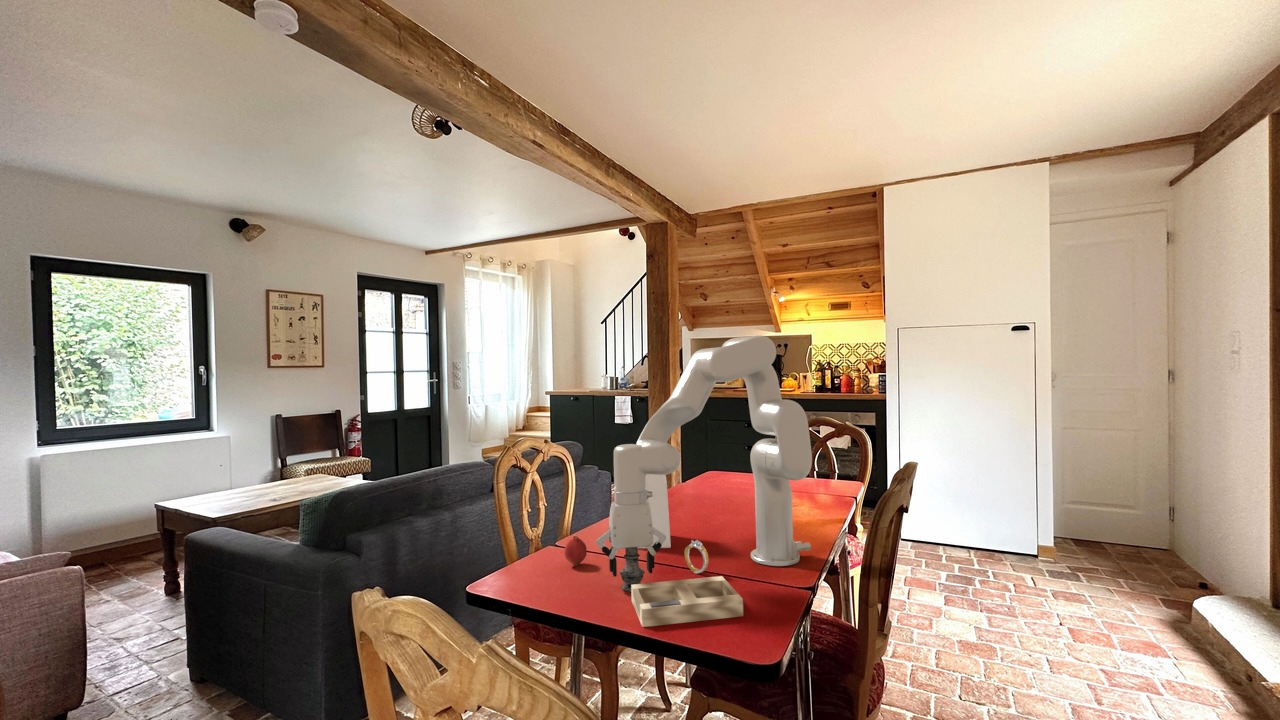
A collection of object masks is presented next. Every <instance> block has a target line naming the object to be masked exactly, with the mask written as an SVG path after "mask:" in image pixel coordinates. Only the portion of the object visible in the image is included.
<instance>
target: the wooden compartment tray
mask: <svg viewBox="0 0 1280 720" xmlns="http://www.w3.org/2000/svg"><path fill="white" fill-rule="evenodd" d="M630 596H631V603H632V605H633V608H634V610H635V612H636V615H637V618H638V620H639V622H640V625H641V627H642V628H645V627H657V626H665V625H674V624H683V623H685V624H686V623H693V622H704V621H710V620H711V621H713V620H720V619H730V618H739V617H744V598H743V597H742V596H741V595H740V594H739V593H738V591H736V590H735V589H734V588H733V586H732V585H731V584H730V583H729V582H728V581H727V580H726V579H725V578H724V576H722V575H720V576H709V577H699V578H688V579H687V578H685V579H678V580H665V581H657V582H656V581H655V582H645V583H641V584H633V585H631V594H630Z"/></svg>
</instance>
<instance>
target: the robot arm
mask: <svg viewBox="0 0 1280 720" xmlns="http://www.w3.org/2000/svg"><path fill="white" fill-rule="evenodd" d="M776 358H777V348H776V345H775V343H774V341H773V340H772V339H771V338H769V337H767V336H765V335H751V336H739V337H734V338H730V339H728V340H726V341H724V342H723V344H722V345H721V346H719V347H718V346H717V347H710V348H709V347H708V348H701V349H698V350H696V351H694V353H693V354H692V355H691V356H690V358H689V361H688V362H687V364H686V366H685V367H684V369H683V372H682V373H681V375H680V377H679V379H678V381H677V383H676V385H675V386H674V389H673V391H672V393H671V394H670V397H669V398H668V399H667V400H666V401H665V402H664V403H663V404H662V405H661V406H660V407H659V408H658V409H657V411H656V412H655V413H654V414H653V415H652V416H651V417H650V419H649V420H648V421H647V423H646V424H645V426H644V428H643V430H642V431H641V433H640V435H639V437H638V439H637V441H636V443H635V444H634V443H626V444H625V443H624V444H620V445H617V446H616V447H614V449H613V484H614V486H613V488H614V489H613V491H614V494H613V495H614V498H613V499H614V502H611V504H610V510H609V517H608V518H609V519H608V530H606V531H605V532H604V533H603V534H602V535H601V536H599V537H598V538H597V539H595V543H596V545H597V547H599V549H600V550H601V552H602V553H603V554H604V555H605V556H606V557H608V561H609V562H608V565H609V567H608V568H609V573H611V574H612V576H613V577H617V576H618V572H617V571H618V569H617V567H618V566H617V558H616V555H617V552H618V551H619V549H626V548H635V547H646V548H645V549H647V552H646V570H647V572H648V573H649V574H653V569H655V565H656V564H655V556H656V553H657V552H658V551H659V550H660V549H662V548H661V546H662V544H663V543H664V541H665V539H666V536H665V534H663V533H662V532H660V531H659V530H657V529H655V528H654V527H653V524H652V515H651V509H650V505H649V502H648V501H647V499H648V498H649V497H652V491H647V490H646V475H647V474H652V475H666V476H667V475H670V474H673V473H674V472H675V471H677V469H678V468H679V466H680V464H681V453H680V452H679V451H678V449H677V448H676V447H675V446H673V445H672V444H670V443H667V442H668V441H669V439H670V438H671V436H672V435H673V434H674V433H675V431H676V430H678V428H681V426H683V425H684V424H687V423H688V422H691V421H692V420H694V419H695V418H697V417H698V416H700V414H701V413H702V411H703V409H704V407H705V404H706V403H707V401H708V399H709V397H710V396H711V393H712V391H713V389H714V387H715V385H716V383H727V382H732V381H735V380H739V379H741V378H742V379H743V380H744V384H745V387H746V392H747V398H748V399H747V400H748V408H749V415H750V421H751V426H752V428H753V429H754V430H755V431H756V432H758V433H760V434H763V435H768V436H775V437H776V438H771V437H770V438H762V439H760V440H758V441H756V443H754V445H752V448H751V451H750V455H749V456H750V457H749V458H750V466H751V471H752V475H753V476H752V477H753V482H754V504H755V505H754V509H755V537H756V538H755V541H756V543H755V544H756V548H755V549H753V550H752V551H750V558H751V559H752V561H754V562H755V563H757V564H761V565H765V566H772V567H787V566H788V567H789V566H793V565H796V564H798V563H799V562H800V557H801V556H800V552H801V551H811V550H812V545H811V544H810V542H802V541H800V540H799V541H798V540H797V541H795V540H794V528H793V493H792V488H791V487H792V486H791V483H790V481H796V482H797V481H800V480H804V479H805V478H806V477H807V476H808V475H809V474H810V472H811V469H812V466H813V465H812V464H813V455H812V446H811V445H812V444H811V437H810V430H809V422H808V416H807V414H806V412H805V410H804V409H803V407H802V406H801V404H799V403H798V402H796V401H794V400H791V399H782V394H781V389H780V383H779V378H778V375H777V372H776V370H775V368H774V366H773V365H772V364H774V362H775V360H776ZM653 534H654V535H656V536H657V537H658V540H657V541H656V542H655V543H654V545H653V546H651V544H653ZM607 540H608V541H609V543H610V545H611V546H610V547H609V548H608V546H607V545H606V544H605V542H606V541H607Z"/></svg>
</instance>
